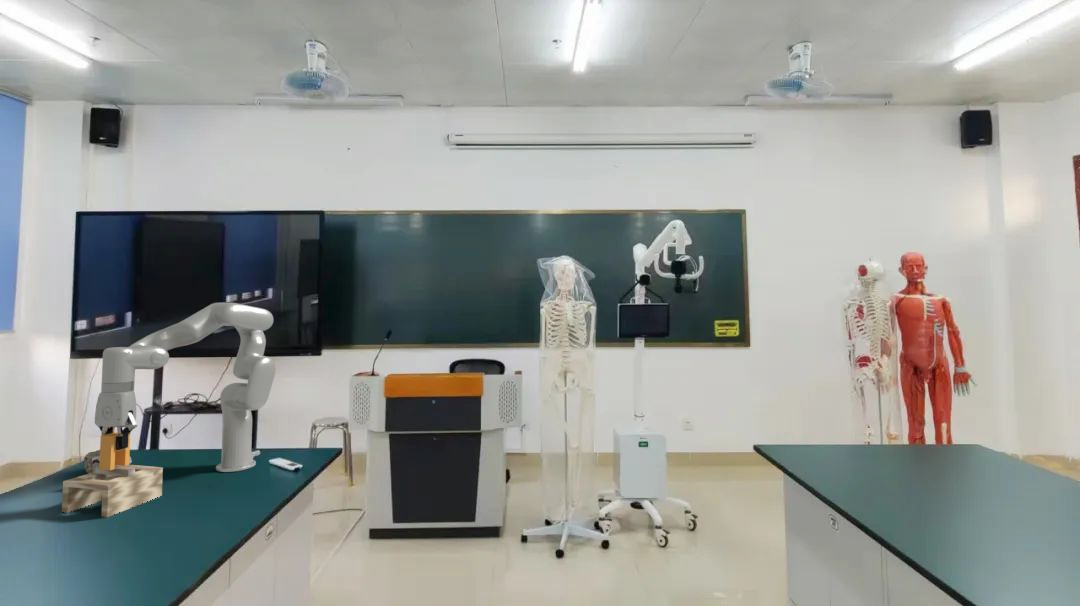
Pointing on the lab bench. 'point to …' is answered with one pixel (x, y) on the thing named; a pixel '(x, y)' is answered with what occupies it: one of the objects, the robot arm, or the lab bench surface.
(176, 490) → the lab bench surface
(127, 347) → the robot arm
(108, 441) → the tall wooden brick
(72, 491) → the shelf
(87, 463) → the pumice stone
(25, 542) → the lab bench surface
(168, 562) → the lab bench surface
